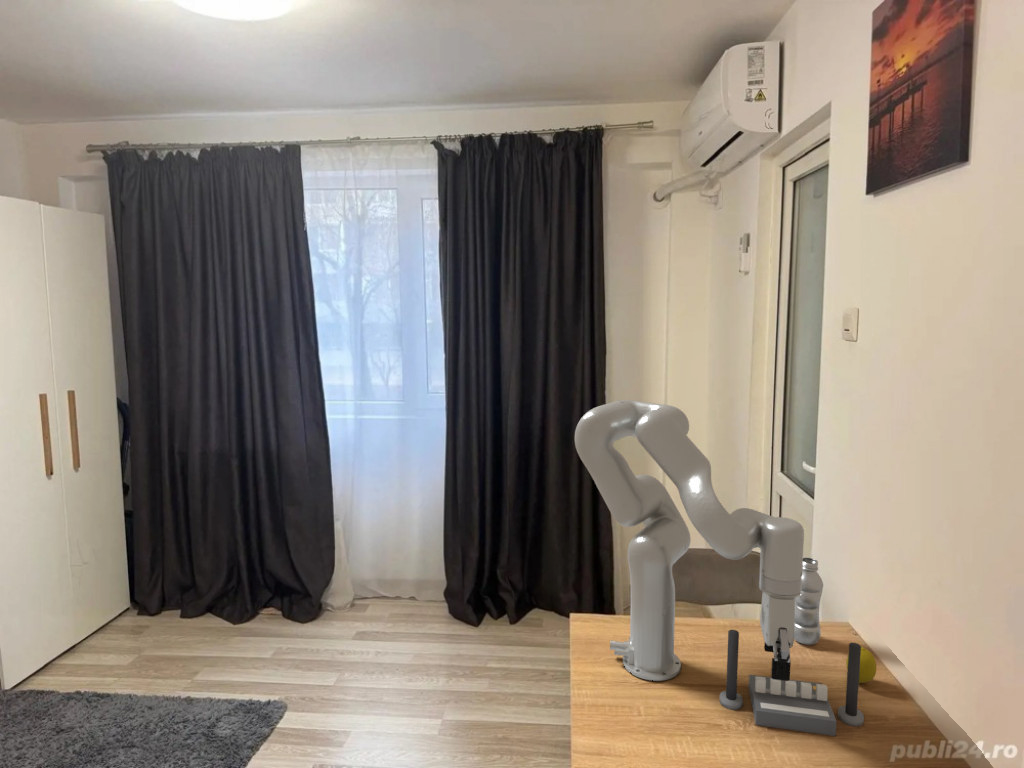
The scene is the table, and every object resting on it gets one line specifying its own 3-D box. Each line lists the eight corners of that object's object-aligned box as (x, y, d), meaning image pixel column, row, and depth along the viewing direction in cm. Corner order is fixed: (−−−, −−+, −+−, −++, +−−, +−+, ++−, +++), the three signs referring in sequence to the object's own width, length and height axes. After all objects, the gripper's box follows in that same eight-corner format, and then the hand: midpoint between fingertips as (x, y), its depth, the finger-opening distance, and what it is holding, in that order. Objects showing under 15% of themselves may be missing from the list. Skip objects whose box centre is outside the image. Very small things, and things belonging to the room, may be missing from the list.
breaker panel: (755, 724, 123) (756, 709, 122) (748, 687, 134) (749, 673, 134) (835, 736, 119) (836, 720, 119) (821, 696, 131) (822, 682, 130)
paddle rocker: (755, 692, 127) (755, 679, 127) (754, 689, 128) (754, 676, 128) (827, 701, 124) (828, 688, 124) (826, 698, 125) (826, 685, 125)
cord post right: (841, 724, 123) (845, 650, 120) (835, 709, 127) (839, 638, 125) (866, 727, 122) (871, 653, 119) (859, 712, 126) (864, 640, 124)
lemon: (879, 692, 132) (881, 656, 131) (849, 689, 133) (852, 653, 132) (869, 676, 138) (872, 641, 136) (842, 673, 139) (844, 639, 138)
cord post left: (720, 708, 128) (722, 636, 126) (718, 694, 132) (721, 625, 130) (743, 711, 127) (746, 639, 125) (741, 697, 131) (744, 627, 129)
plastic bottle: (818, 636, 154) (822, 556, 151) (821, 650, 148) (826, 568, 145) (789, 631, 156) (793, 553, 153) (791, 646, 150) (795, 564, 147)
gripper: (754, 562, 133) (751, 639, 135) (765, 601, 116) (761, 688, 119) (793, 565, 131) (789, 644, 134) (810, 605, 115) (805, 694, 117)
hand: (776, 664), depth 126 cm, fingers open, 9 cm apart
